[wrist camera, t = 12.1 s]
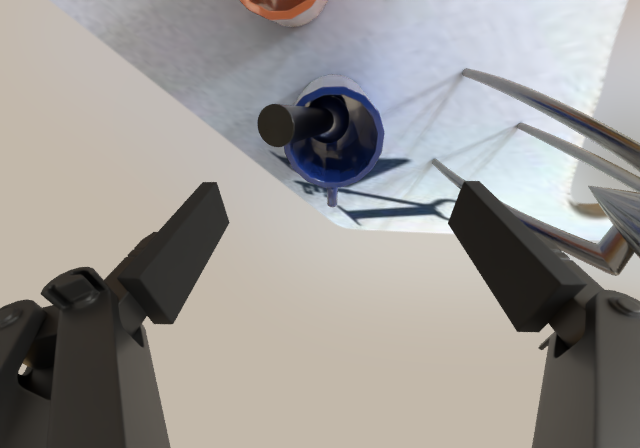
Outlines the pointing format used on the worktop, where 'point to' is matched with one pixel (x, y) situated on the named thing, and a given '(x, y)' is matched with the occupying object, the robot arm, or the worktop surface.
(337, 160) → the mug
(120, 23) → the worktop surface
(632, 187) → the juicer
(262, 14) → the crock
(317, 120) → the long black cylinder
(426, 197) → the worktop surface
